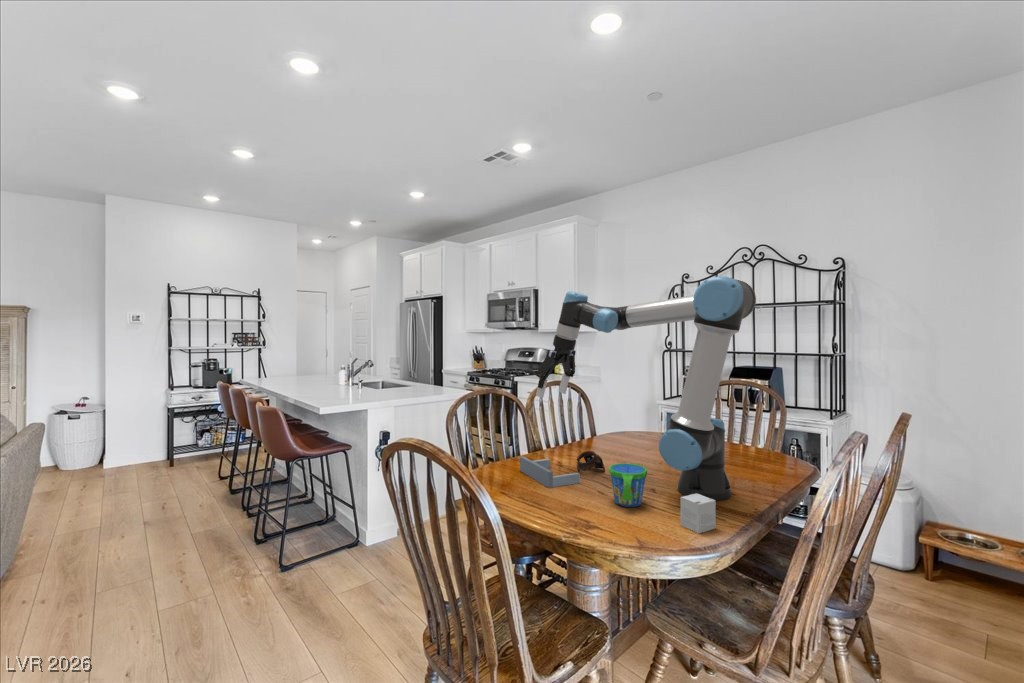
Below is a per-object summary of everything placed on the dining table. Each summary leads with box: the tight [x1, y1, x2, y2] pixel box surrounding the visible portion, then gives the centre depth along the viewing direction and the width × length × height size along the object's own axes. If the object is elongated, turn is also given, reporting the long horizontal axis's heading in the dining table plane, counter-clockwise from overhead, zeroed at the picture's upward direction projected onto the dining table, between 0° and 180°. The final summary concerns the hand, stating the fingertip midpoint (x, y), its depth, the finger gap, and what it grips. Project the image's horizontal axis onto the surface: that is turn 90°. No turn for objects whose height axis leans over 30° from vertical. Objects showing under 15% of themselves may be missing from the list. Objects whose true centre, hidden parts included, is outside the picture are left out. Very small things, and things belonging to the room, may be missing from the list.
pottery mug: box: [576, 450, 606, 473], centre depth 170 cm, size 12×10×8 cm
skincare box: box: [679, 493, 717, 534], centre depth 120 cm, size 6×6×7 cm
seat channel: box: [519, 456, 581, 489], centre depth 163 cm, size 12×21×5 cm, turn 25°
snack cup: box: [608, 462, 648, 508], centre depth 136 cm, size 16×10×10 cm
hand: (550, 394), depth 167 cm, fingers open, 13 cm apart
